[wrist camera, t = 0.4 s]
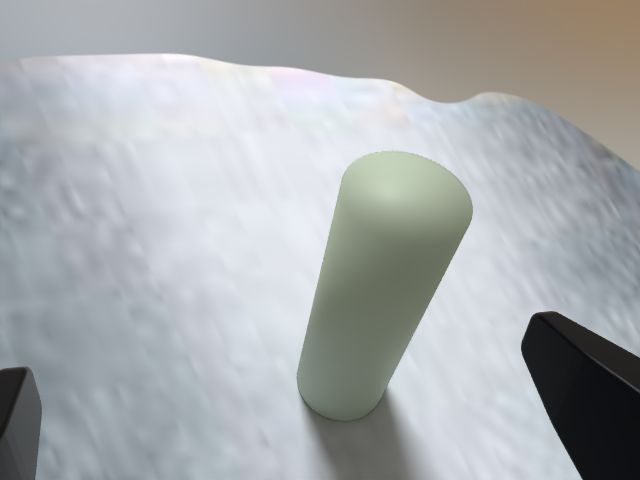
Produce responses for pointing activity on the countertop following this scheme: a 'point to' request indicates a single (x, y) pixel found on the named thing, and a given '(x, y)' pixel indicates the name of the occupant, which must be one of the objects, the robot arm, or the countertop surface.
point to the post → (378, 277)
